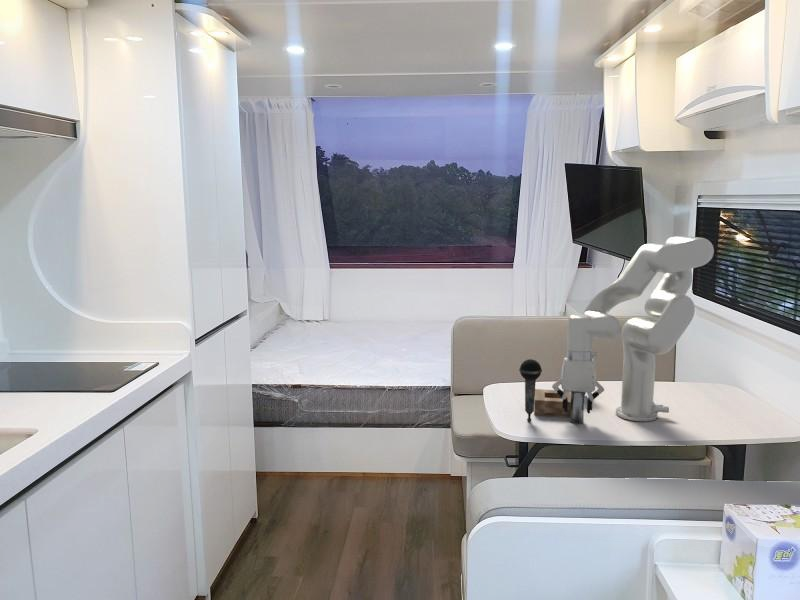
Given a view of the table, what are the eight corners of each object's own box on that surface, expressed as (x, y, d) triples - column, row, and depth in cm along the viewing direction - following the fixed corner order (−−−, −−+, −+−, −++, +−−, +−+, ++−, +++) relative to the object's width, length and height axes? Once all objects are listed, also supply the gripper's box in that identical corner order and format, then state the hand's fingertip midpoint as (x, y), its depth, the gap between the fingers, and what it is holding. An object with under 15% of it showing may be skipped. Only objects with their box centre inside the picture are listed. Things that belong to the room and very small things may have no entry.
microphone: (540, 418, 201) (542, 357, 198) (540, 426, 194) (542, 363, 191) (518, 417, 202) (519, 356, 199) (517, 424, 196) (519, 361, 192)
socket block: (570, 405, 213) (571, 391, 213) (572, 417, 202) (573, 402, 201) (534, 403, 216) (534, 389, 215) (534, 414, 204) (534, 400, 204)
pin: (582, 420, 199) (584, 389, 198) (583, 424, 196) (585, 393, 194) (569, 419, 200) (570, 388, 199) (570, 423, 196) (571, 392, 195)
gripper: (607, 353, 196) (604, 409, 199) (550, 350, 200) (548, 405, 203) (610, 359, 189) (607, 417, 192) (550, 356, 193) (548, 413, 196)
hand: (577, 410), depth 197 cm, fingers open, 6 cm apart
